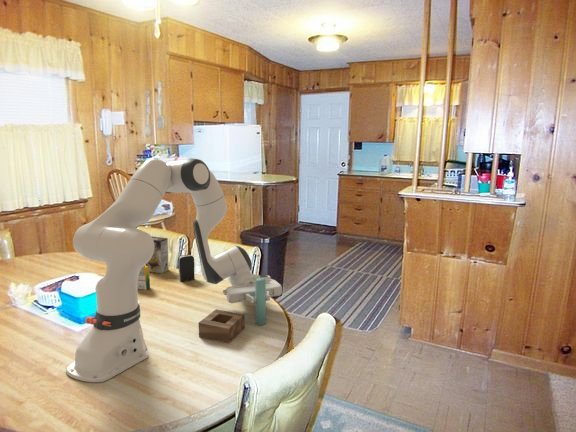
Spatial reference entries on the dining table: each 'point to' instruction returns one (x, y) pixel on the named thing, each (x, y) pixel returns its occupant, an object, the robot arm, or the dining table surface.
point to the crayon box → (144, 278)
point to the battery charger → (186, 267)
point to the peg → (260, 301)
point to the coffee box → (159, 256)
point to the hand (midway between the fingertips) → (261, 299)
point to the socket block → (221, 326)
